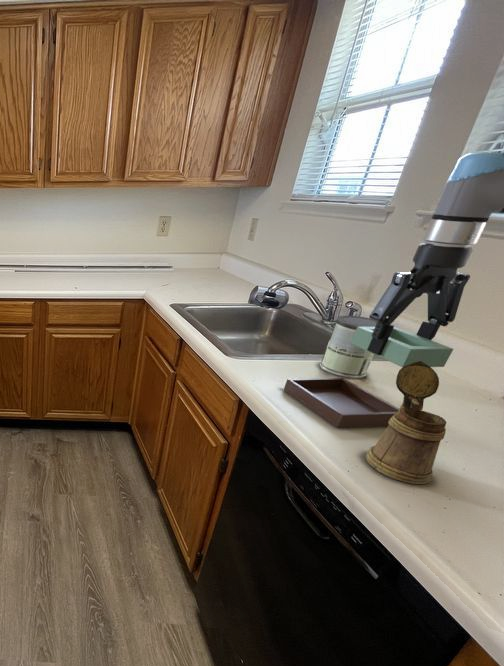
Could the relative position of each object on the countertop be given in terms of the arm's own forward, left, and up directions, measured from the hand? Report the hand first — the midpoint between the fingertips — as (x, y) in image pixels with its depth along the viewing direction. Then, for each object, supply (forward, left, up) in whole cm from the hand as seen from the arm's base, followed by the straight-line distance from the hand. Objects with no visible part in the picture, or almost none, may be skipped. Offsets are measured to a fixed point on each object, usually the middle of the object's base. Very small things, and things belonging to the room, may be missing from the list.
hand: (395, 352), depth 89 cm
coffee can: (+20, -11, -14) cm, 27 cm away
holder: (+1, +6, -14) cm, 16 cm away
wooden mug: (-19, +12, -14) cm, 27 cm away
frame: (0, 0, 0) cm, 0 cm away
